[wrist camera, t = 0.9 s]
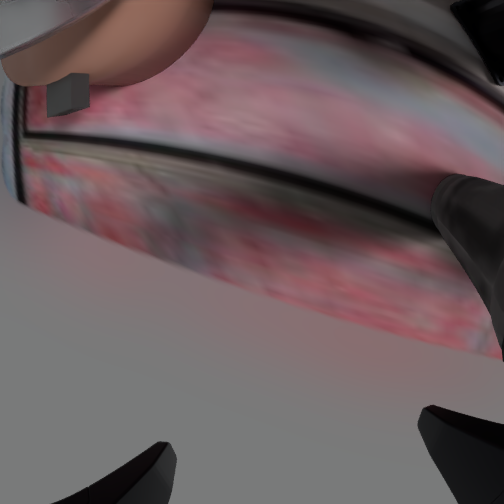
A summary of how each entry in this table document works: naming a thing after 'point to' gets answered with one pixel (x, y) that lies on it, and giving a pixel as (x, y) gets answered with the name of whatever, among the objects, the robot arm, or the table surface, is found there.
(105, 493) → the robot arm
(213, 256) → the table surface
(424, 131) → the table surface
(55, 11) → the cooker lid
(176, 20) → the cooker pot
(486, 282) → the beverage cup
